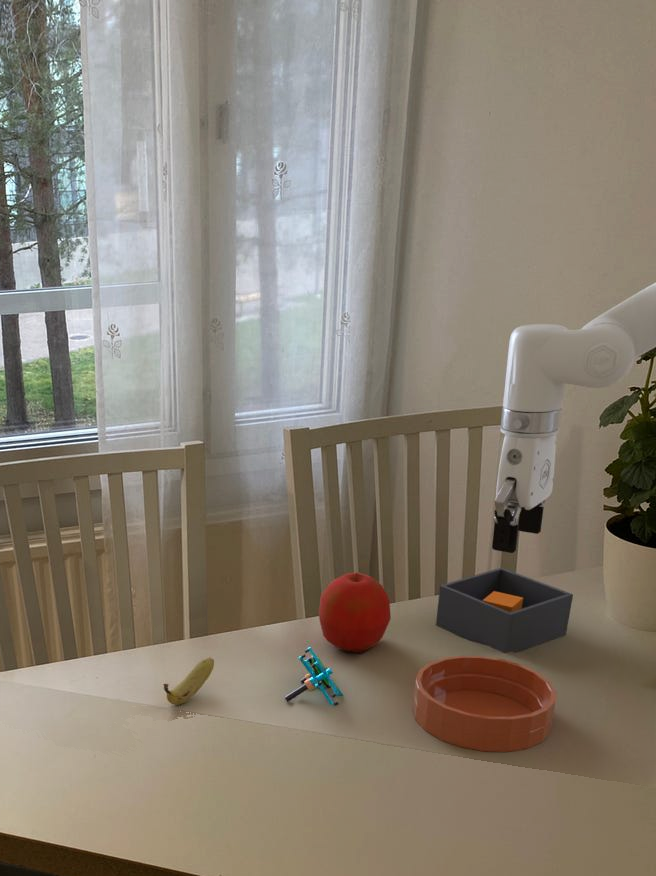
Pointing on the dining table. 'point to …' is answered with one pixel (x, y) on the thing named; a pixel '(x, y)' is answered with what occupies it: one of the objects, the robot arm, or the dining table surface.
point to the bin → (503, 611)
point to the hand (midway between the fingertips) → (516, 541)
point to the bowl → (484, 703)
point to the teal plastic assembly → (315, 678)
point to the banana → (190, 683)
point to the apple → (354, 612)
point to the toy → (504, 601)
